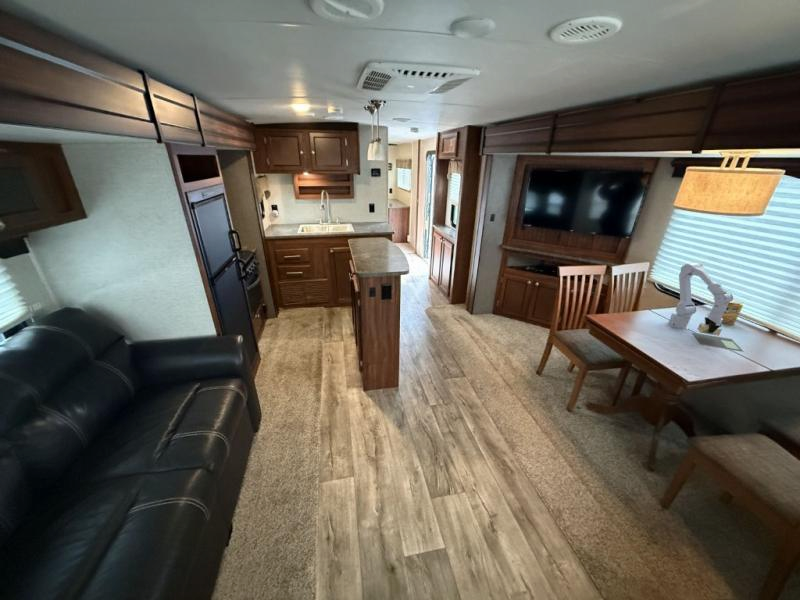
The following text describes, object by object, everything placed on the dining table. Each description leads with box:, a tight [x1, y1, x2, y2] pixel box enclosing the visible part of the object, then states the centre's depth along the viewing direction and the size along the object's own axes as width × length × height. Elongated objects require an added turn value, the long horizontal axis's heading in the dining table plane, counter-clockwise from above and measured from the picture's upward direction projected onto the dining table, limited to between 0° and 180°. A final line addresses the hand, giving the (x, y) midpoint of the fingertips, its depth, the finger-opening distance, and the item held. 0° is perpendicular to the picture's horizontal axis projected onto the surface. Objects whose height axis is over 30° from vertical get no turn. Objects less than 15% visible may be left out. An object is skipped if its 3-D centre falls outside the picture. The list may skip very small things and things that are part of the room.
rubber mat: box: [691, 332, 745, 353], centre depth 191 cm, size 20×16×1 cm
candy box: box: [721, 300, 744, 326], centre depth 211 cm, size 9×4×15 cm, turn 49°
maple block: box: [697, 322, 722, 337], centre depth 193 cm, size 9×5×4 cm, turn 64°
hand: (708, 330), depth 194 cm, fingers closed on maple block, 5 cm apart
